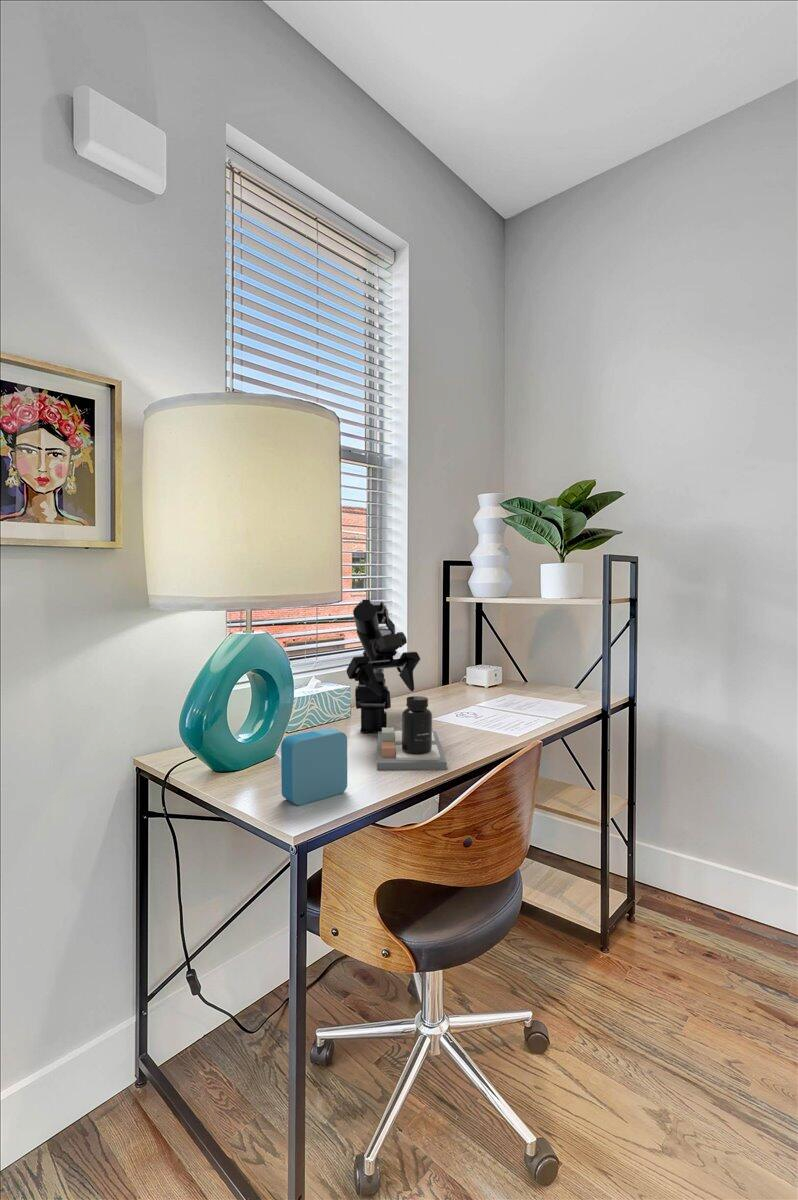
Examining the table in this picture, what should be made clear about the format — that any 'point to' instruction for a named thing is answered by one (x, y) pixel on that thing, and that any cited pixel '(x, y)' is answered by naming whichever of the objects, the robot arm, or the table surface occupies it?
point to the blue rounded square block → (313, 765)
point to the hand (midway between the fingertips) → (397, 692)
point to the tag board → (397, 759)
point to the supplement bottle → (417, 726)
